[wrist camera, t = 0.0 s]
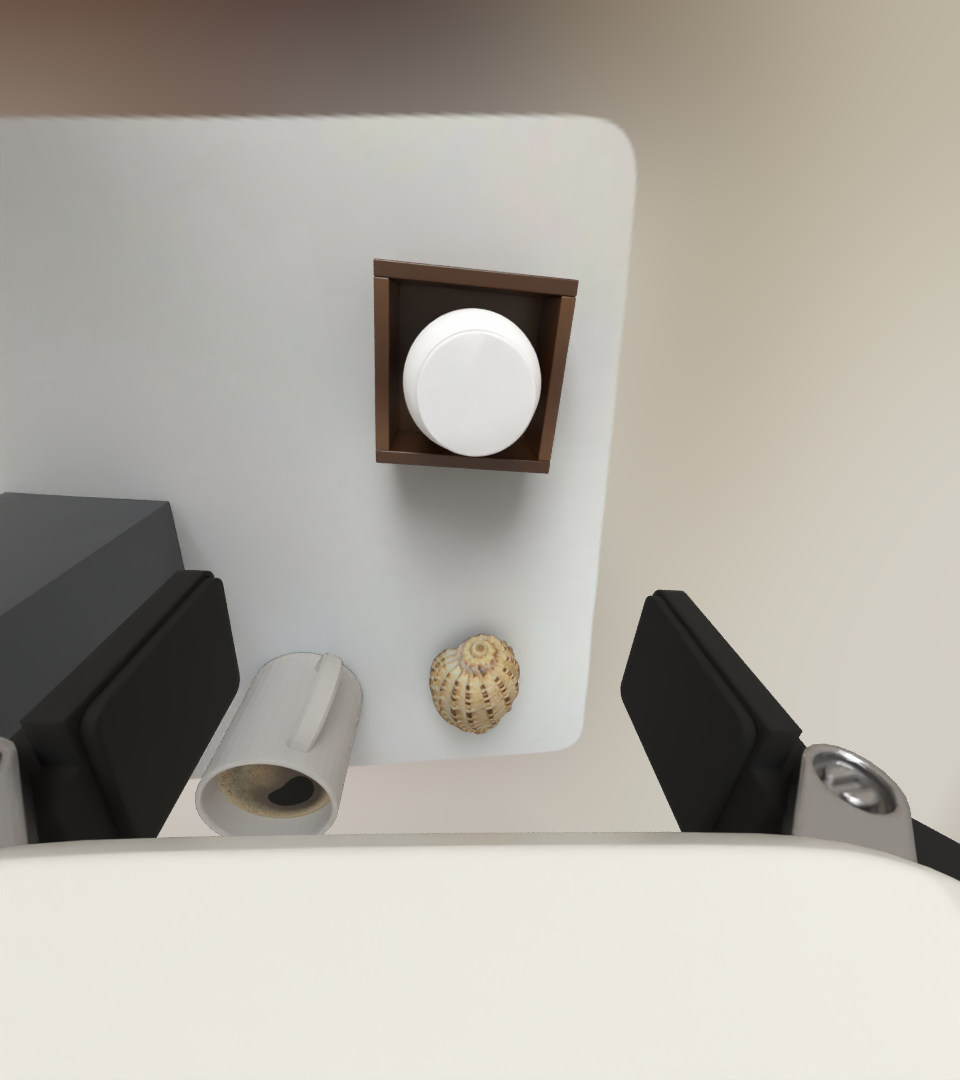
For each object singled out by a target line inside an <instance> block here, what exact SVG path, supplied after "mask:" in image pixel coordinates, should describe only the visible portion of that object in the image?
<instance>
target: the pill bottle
mask: <svg viewBox="0 0 960 1080" xmlns="http://www.w3.org/2000/svg"><path fill="white" fill-rule="evenodd" d="M403 390H404V396H405V401H406V404H407V407H408V410H409V412H410V414H411V416H412V418H413V420H414V422H415V423H416V425H417V426H418V427H419V429H420V430H421V431H422V432H423V433H424V434H425V435H426V436H427V437H428V438H429V439H430V440H432V441H433V442H435V443H436V444H438V445H440V446H442V447H444V448H446V449H448V450H450V451H452V452H454V453H457V454H461V455H465V456H472V457H476V456H487V455H491V454H495V453H497V452H500V451H502V450H504V449H506V448H507V447H509V446H510V445H511V444H513V443H514V442H515V441H516V440H517V439H518V438H519V437H520V436H521V435H522V434H523V433H524V431H525V430H526V428H527V427H528V425H529V423H530V421H531V419H532V417H533V415H534V413H535V410H536V408H537V405H538V402H539V398H540V392H541V373H540V367H539V362H538V359H537V356H536V353H535V351H534V348H533V347H532V345H531V343H530V341H529V340H528V338H527V337H526V336H525V334H524V333H523V332H522V331H521V330H520V329H519V328H518V327H517V326H516V325H515V324H514V323H513V322H511V321H510V320H508V319H507V318H505V317H503V316H502V315H500V314H497V313H495V312H492V311H489V310H485V309H478V308H467V309H459V310H455V311H452V312H449V313H446V314H444V315H442V316H440V317H438V318H437V319H435V320H434V321H433V322H431V323H430V324H429V325H428V326H426V327H425V328H424V329H423V330H422V331H421V333H420V334H419V335H418V337H417V338H416V339H415V341H414V343H413V344H412V346H411V348H410V351H409V353H408V355H407V359H406V362H405V366H404V372H403Z"/></svg>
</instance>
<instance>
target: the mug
mask: <svg viewBox="0 0 960 1080" xmlns="http://www.w3.org/2000/svg"><path fill="white" fill-rule="evenodd" d="M361 704H362V691H361V687H360V685H359V682H358V680H357V679H356V677H355V676H354V674H353V673H352V672H351V671H350V670H349V669H348V668H346V667H345V666H344V665H343V662H342V659H341V658H338V657H336V656H333V655H331V654H328V653H326V654H324V655H318V654H313V653H293V654H287V655H284V656H281V657H278V658H276V659H274V660H272V661H270V662H269V663H267V664H266V665H265V666H263V667H262V668H261V670H260V671H259V672H258V673H257V675H256V677H255V678H254V680H253V682H252V684H251V686H250V688H249V690H248V692H247V694H246V696H245V697H244V699H243V701H242V703H241V705H240V707H239V709H238V711H237V713H236V715H235V716H234V718H233V720H232V722H231V724H230V726H229V728H228V730H227V732H226V733H225V735H224V737H223V739H222V741H221V743H220V745H219V747H218V749H217V751H216V752H215V754H214V756H213V758H212V760H211V762H210V764H209V766H208V768H207V769H206V771H205V773H204V775H203V777H202V779H201V781H200V783H199V785H198V787H197V790H196V795H195V804H196V809H197V811H198V813H199V816H200V817H201V819H202V820H203V821H204V822H205V824H207V825H208V826H209V827H210V828H211V829H212V830H214V831H215V832H216V833H218V834H219V835H221V836H276V835H322V834H323V833H325V832H326V831H327V830H328V829H329V828H330V827H331V825H332V824H333V823H334V821H335V819H336V817H337V813H338V809H339V804H340V800H341V795H342V791H343V786H344V781H345V776H346V772H347V768H348V763H349V759H350V754H351V750H352V745H353V740H354V736H355V731H356V727H357V722H358V718H359V713H360V709H361Z"/></svg>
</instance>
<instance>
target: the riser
mask: <svg viewBox="0 0 960 1080" xmlns="http://www.w3.org/2000/svg"><path fill="white" fill-rule="evenodd" d="M178 570H184V567H183V562H182V558H181V553H180V549H179V544H178V540H177V535H176V531H175V526H174V522H173V517H172V513H171V508H170V504H169V502H165V501H147V500H129V499H111V498H93V497H74V496H56V495H38V494H20V493H3V494H1V495H0V737H4V738H6V739H8V740H9V739H10V738H11V737H12V736H13V735H14V734H15V733H16V732H17V731H18V730H19V729H20V728H21V727H22V726H21V724H20V720H22V719H23V718H24V717H25V716H26V715H27V714H28V713H29V712H30V711H31V710H32V709H33V708H34V707H35V706H36V705H37V704H38V703H39V702H40V701H41V700H42V699H44V698H45V697H46V696H47V695H48V694H49V693H50V692H51V691H52V690H53V689H54V688H55V687H56V686H57V685H58V684H59V683H60V682H61V681H62V680H63V679H64V678H65V677H67V676H68V675H69V674H70V673H71V672H72V671H73V670H74V669H75V668H76V667H77V666H78V665H79V664H80V663H81V662H82V661H83V660H84V659H85V658H86V657H87V656H88V655H90V654H91V653H92V652H93V651H94V650H95V649H96V648H97V647H98V646H99V645H100V644H101V643H102V642H103V641H104V640H105V639H106V638H107V637H108V636H109V635H110V634H111V633H113V632H114V631H115V630H116V629H117V628H118V627H119V626H120V625H121V624H122V623H123V622H124V621H125V620H126V619H127V618H128V617H129V616H130V615H131V614H132V613H133V612H134V611H136V610H137V609H138V608H139V607H140V606H141V605H142V604H143V603H144V602H145V601H146V600H147V599H148V598H149V597H150V596H151V595H152V594H153V593H154V592H155V591H156V590H158V589H159V588H160V587H161V586H162V585H163V584H164V583H165V582H166V581H167V580H168V579H169V578H170V577H171V576H172V575H173V574H174V573H175V572H177V571H178Z"/></svg>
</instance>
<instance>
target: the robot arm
mask: <svg viewBox="0 0 960 1080" xmlns="http://www.w3.org/2000/svg"><path fill="white" fill-rule="evenodd" d="M239 683H240V675H239V669H238V664H237V658H236V653H235V647H234V642H233V636H232V631H231V625H230V620H229V614H228V609H227V603H226V598H225V593H224V587H223V583H222V581H221V579H219V578H214V575H213V574H212V572H210V571H198V570H178V571H177V572H175V573H174V574H173V575H172V576H171V577H170V578H169V579H168V580H167V581H166V582H165V583H164V584H163V585H162V586H161V587H160V588H159V589H158V590H156V591H155V592H154V593H153V594H152V595H151V596H150V597H149V598H148V599H147V600H146V601H145V602H144V603H143V604H142V605H141V606H140V607H139V608H138V609H137V610H136V611H134V612H133V613H132V614H131V615H130V616H129V617H128V618H127V619H126V620H125V621H124V622H123V623H122V624H121V625H120V626H119V627H118V628H117V629H116V630H115V631H114V632H113V633H111V634H110V635H109V636H108V637H107V638H106V639H105V640H104V641H103V642H102V643H101V644H100V645H99V646H98V647H97V648H96V649H95V650H94V651H93V652H92V653H91V654H90V655H88V656H87V657H86V658H85V659H84V660H83V661H82V662H81V663H80V664H79V665H78V666H77V667H76V668H75V669H74V670H73V671H72V672H71V673H70V674H69V675H68V676H67V677H65V678H64V679H63V680H62V681H61V682H60V683H59V684H58V685H57V686H56V687H55V688H54V689H53V690H52V691H51V692H50V693H49V694H48V695H47V696H46V697H45V698H44V699H42V700H41V701H40V702H39V703H38V704H37V705H36V706H35V707H34V708H33V709H32V710H31V711H30V712H29V713H28V714H27V715H26V716H25V717H24V718H23V719H22V720H20V724H21V726H22V727H21V728H20V729H19V730H18V731H17V732H16V733H15V734H14V735H13V736H12V737H11V738H10V739H9V740H8V739H6V738H4V737H0V1080H960V844H959V843H957V842H955V841H954V840H952V839H950V838H948V837H946V836H944V835H942V834H940V833H939V832H937V831H935V830H933V829H931V828H929V827H928V826H926V825H924V824H922V823H920V822H918V821H917V820H915V819H913V818H911V812H910V807H909V804H908V802H907V799H906V797H905V795H904V793H903V792H902V791H901V789H900V788H899V786H898V785H897V784H896V783H895V782H894V781H893V780H892V779H891V778H890V777H889V776H888V775H887V774H886V773H885V772H884V771H882V770H881V769H880V768H878V767H877V766H876V765H874V764H873V763H871V762H870V761H868V760H867V759H865V758H863V757H861V756H859V755H857V754H856V753H854V752H851V751H849V750H846V749H844V748H841V747H838V746H834V745H828V744H814V745H811V746H809V747H806V746H805V745H804V744H803V742H802V741H801V740H800V739H799V736H800V734H801V733H802V730H801V729H800V728H799V726H798V725H797V724H796V723H795V722H794V721H793V719H792V718H791V717H790V716H789V715H788V713H787V712H786V711H785V710H784V709H783V708H782V707H781V705H780V704H779V703H778V702H777V700H776V699H775V698H774V697H773V696H772V695H771V693H770V692H769V691H768V690H767V689H766V687H765V686H764V685H763V684H762V683H761V682H760V680H759V679H758V678H757V677H756V676H755V674H754V673H753V672H752V671H751V670H750V669H749V667H748V666H747V665H746V664H745V663H744V661H743V660H742V659H741V658H740V657H739V656H738V654H737V653H736V652H735V651H734V650H733V648H732V647H731V646H730V645H729V644H728V643H727V641H726V640H725V639H724V638H723V637H722V635H721V634H720V633H719V632H718V631H717V630H716V628H715V627H714V626H713V625H712V624H711V622H710V621H709V620H708V619H707V618H706V616H704V614H703V613H702V612H701V611H700V609H699V608H698V607H697V606H696V605H695V604H694V602H693V601H692V600H691V599H690V598H689V597H688V595H687V594H686V593H684V592H683V591H675V590H657V591H655V592H654V594H653V596H648V597H647V598H646V600H645V603H644V606H643V610H642V613H641V617H640V620H639V624H638V627H637V631H636V634H635V637H634V641H633V645H632V648H631V651H630V655H629V659H628V662H627V665H626V669H625V672H624V675H623V680H622V682H621V697H622V700H623V703H624V705H625V707H626V709H627V712H628V714H629V716H630V718H631V720H632V723H633V725H634V727H635V730H636V732H637V734H638V736H639V738H640V741H641V743H642V745H643V747H644V750H645V752H646V754H647V756H648V758H649V761H650V763H651V765H652V767H653V769H654V772H655V774H656V776H657V779H658V780H659V783H660V785H661V787H662V790H663V792H664V794H665V796H666V799H667V801H668V803H669V805H670V807H671V809H672V812H673V814H674V816H675V819H676V820H677V823H678V825H679V828H680V830H681V832H600V833H599V832H598V833H597V832H591V833H589V832H583V833H581V832H580V833H579V832H577V833H576V832H573V833H572V832H569V833H568V832H566V833H433V834H343V835H276V836H217V837H216V836H212V837H169V838H157V836H158V834H159V832H160V830H161V829H162V827H163V825H164V823H165V821H166V820H167V818H168V816H169V814H170V812H171V811H172V809H173V807H174V805H175V803H176V801H177V800H178V798H179V796H180V794H181V792H182V791H183V789H184V787H185V785H186V783H187V782H188V780H189V778H190V776H191V775H192V773H193V771H194V769H195V767H196V765H197V764H198V762H199V760H200V758H201V756H202V755H203V753H204V751H205V749H206V747H207V746H208V744H209V742H210V740H211V738H212V737H213V735H214V733H215V731H216V729H217V728H218V726H219V724H220V722H221V720H222V719H223V717H224V715H225V713H226V711H227V710H228V708H229V706H230V704H231V702H232V701H233V699H234V697H235V695H236V693H237V691H238V688H239Z"/></svg>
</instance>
